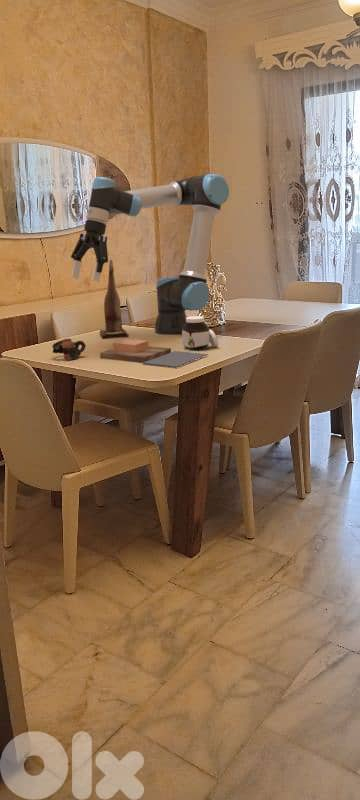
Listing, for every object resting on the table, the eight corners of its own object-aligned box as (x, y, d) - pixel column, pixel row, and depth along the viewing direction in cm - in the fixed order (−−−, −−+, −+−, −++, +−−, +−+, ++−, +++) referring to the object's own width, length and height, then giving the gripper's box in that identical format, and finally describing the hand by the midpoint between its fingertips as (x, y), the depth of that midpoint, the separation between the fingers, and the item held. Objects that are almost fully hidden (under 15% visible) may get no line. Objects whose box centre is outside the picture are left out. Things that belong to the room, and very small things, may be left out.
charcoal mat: (175, 352, 233) (175, 351, 233) (208, 355, 225) (207, 354, 225) (142, 364, 217) (142, 362, 217) (176, 368, 209) (176, 366, 209)
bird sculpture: (103, 340, 264) (97, 261, 254) (98, 334, 275) (93, 259, 265) (129, 338, 267) (125, 260, 257) (124, 332, 277) (120, 257, 267)
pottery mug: (58, 364, 225) (49, 343, 226) (59, 370, 235) (50, 350, 235) (90, 352, 228) (81, 331, 229) (89, 358, 237) (80, 338, 238)
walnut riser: (127, 349, 242) (127, 344, 242) (171, 353, 232) (170, 348, 231) (100, 357, 230) (100, 352, 229) (145, 363, 219) (144, 357, 218)
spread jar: (179, 348, 240) (178, 317, 236) (200, 343, 247) (199, 313, 244) (202, 352, 231) (201, 320, 228) (223, 347, 239) (222, 316, 235)
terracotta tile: (127, 346, 237) (126, 338, 236) (148, 348, 232) (148, 340, 231) (113, 351, 231) (112, 342, 230) (135, 353, 225) (134, 344, 224)
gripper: (68, 218, 236) (57, 274, 238) (108, 219, 218) (96, 280, 220) (85, 223, 241) (74, 279, 243) (125, 225, 223) (113, 285, 225)
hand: (84, 280), depth 232 cm, fingers open, 13 cm apart
